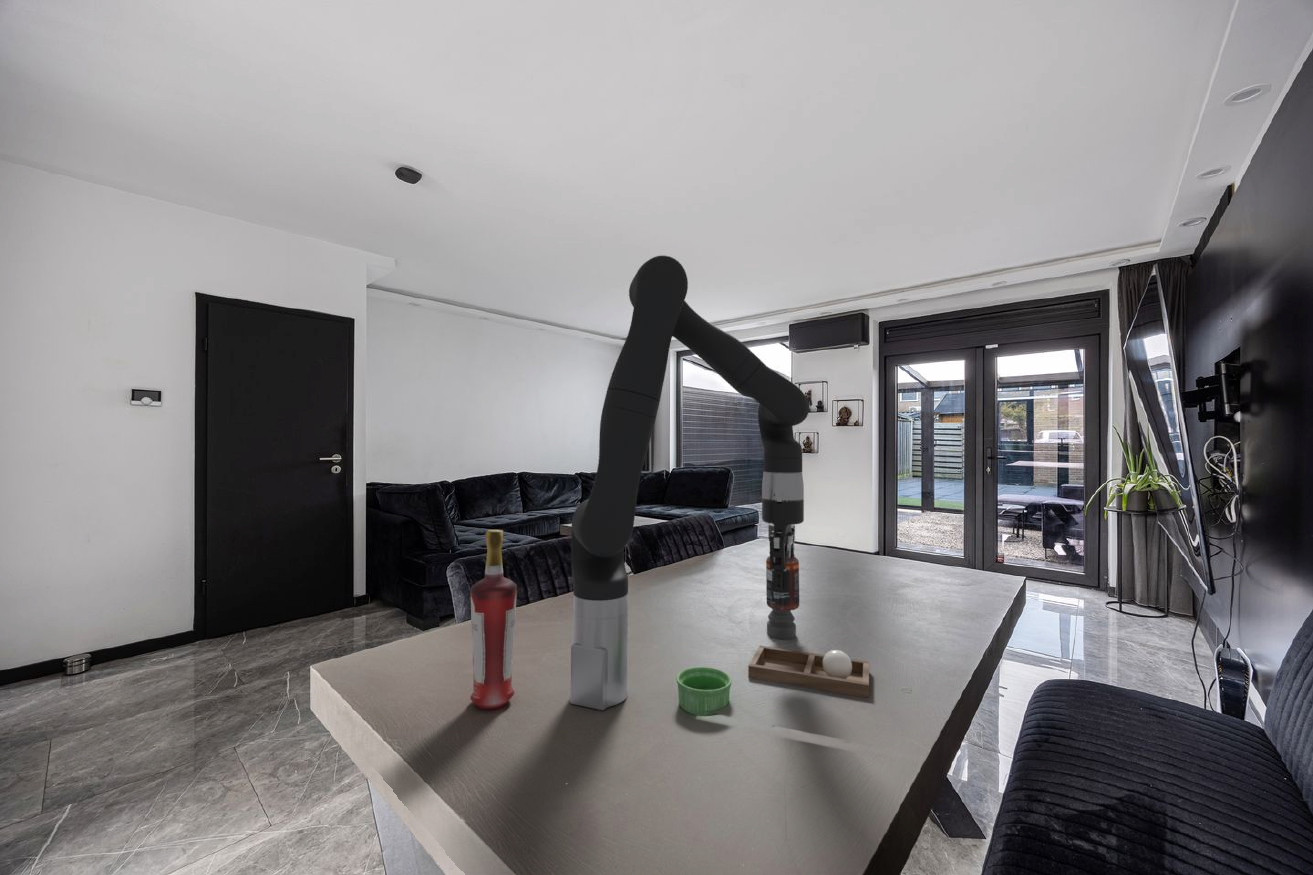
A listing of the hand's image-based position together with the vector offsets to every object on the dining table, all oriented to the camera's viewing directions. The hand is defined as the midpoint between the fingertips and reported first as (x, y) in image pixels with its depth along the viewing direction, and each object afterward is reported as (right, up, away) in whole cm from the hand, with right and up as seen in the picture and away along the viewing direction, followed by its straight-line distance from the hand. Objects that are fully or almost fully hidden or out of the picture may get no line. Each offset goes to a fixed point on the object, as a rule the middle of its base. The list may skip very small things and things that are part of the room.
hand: (782, 587), depth 98 cm
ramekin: (-16, -16, -11) cm, 25 cm away
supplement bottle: (0, -4, 0) cm, 4 cm away
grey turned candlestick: (+4, -17, +19) cm, 25 cm away
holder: (+4, -16, -2) cm, 17 cm away
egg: (+9, -15, -4) cm, 18 cm away
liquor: (-50, -16, -11) cm, 54 cm away
